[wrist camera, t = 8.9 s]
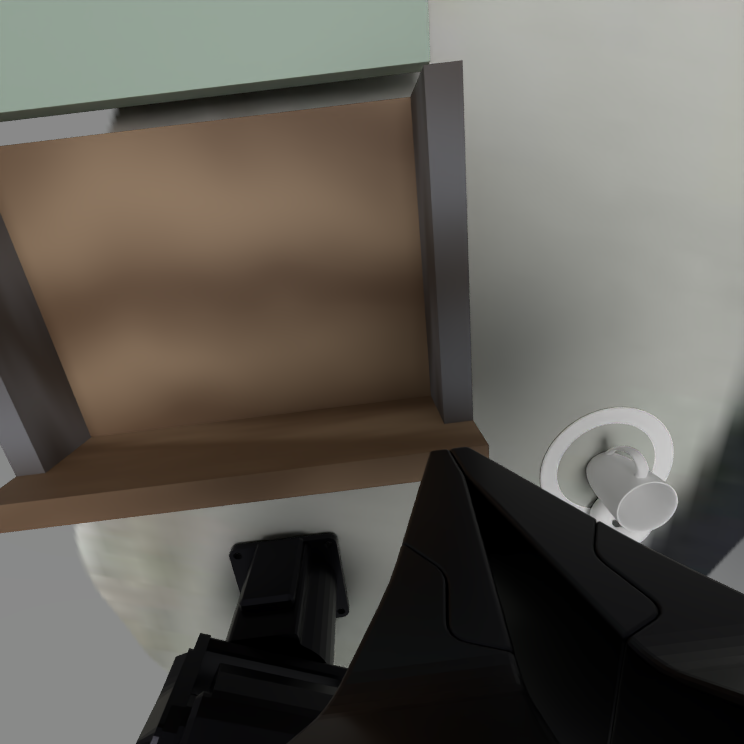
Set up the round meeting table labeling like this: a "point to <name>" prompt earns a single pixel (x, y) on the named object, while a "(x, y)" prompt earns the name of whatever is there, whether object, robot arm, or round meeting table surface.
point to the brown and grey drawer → (235, 308)
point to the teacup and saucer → (621, 474)
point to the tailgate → (195, 49)
